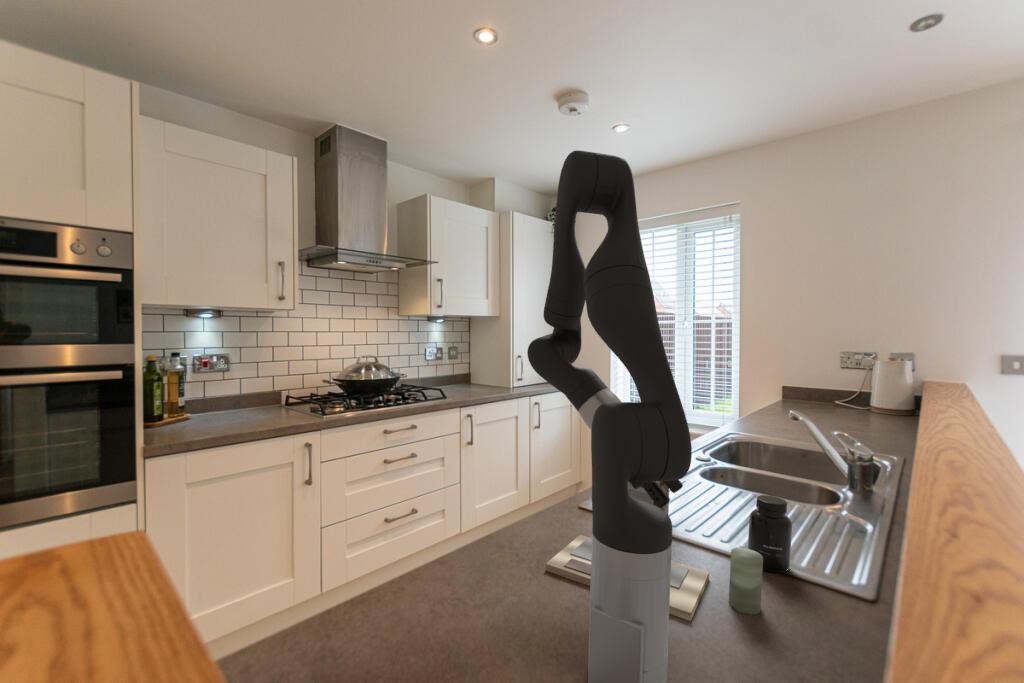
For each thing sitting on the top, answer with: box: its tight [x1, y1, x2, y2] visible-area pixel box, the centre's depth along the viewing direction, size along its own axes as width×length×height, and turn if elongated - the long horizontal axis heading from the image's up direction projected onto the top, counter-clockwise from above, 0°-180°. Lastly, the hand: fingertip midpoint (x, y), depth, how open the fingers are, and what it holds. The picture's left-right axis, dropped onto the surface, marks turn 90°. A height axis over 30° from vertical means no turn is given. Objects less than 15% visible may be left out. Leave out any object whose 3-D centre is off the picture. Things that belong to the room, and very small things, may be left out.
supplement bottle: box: [747, 494, 793, 574], centre depth 84 cm, size 7×7×12 cm
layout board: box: [545, 534, 710, 622], centre depth 80 cm, size 14×24×1 cm, turn 57°
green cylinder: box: [728, 547, 764, 615], centre depth 71 cm, size 4×4×8 cm
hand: (672, 496), depth 77 cm, fingers open, 8 cm apart
